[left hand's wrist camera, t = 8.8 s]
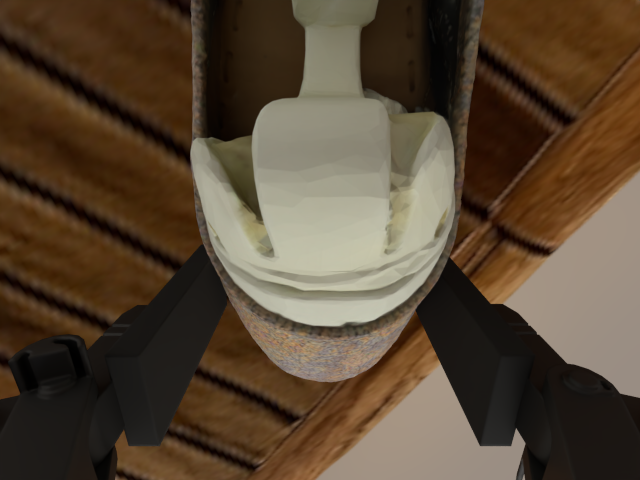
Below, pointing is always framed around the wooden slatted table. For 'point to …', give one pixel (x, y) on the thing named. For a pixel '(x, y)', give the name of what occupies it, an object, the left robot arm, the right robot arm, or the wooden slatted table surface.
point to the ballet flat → (330, 165)
